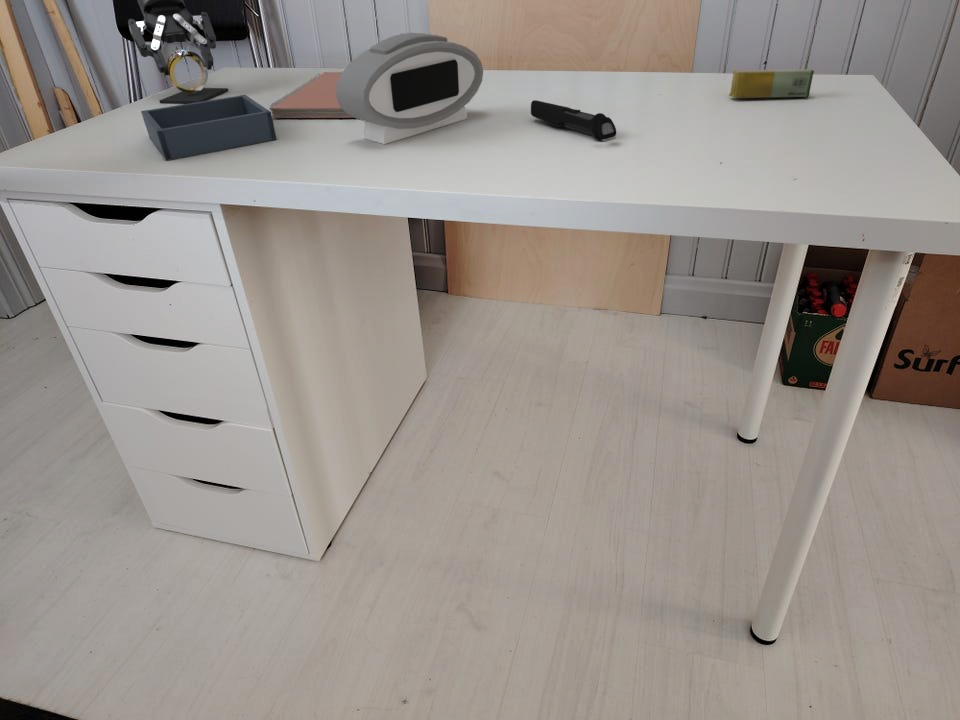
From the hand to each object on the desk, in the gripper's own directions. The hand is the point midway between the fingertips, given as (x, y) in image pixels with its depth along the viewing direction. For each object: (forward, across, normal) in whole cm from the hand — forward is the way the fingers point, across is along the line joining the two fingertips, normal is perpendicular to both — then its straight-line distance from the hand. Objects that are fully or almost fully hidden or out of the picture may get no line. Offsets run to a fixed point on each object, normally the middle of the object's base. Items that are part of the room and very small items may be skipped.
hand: (188, 69), depth 117 cm
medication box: (+50, +76, -43) cm, 101 cm away
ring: (+2, 0, +4) cm, 5 cm away
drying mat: (+2, 0, +4) cm, 5 cm away
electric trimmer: (+46, +40, -39) cm, 72 cm away
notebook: (+17, +21, -10) cm, 29 cm away
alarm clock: (+35, +23, -28) cm, 50 cm away
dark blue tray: (+24, -4, -18) cm, 30 cm away
